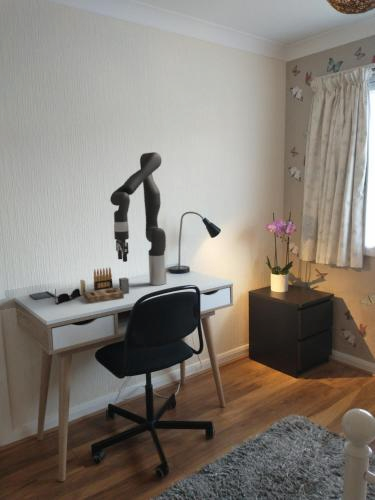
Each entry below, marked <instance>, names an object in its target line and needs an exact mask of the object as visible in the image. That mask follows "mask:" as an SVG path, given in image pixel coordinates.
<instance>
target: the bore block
mask: <svg viewBox="0 0 375 500" xmlns="http://www.w3.org/2000/svg"><path fill="white" fill-rule="evenodd" d="M83 295H84V296H83V299H84V300H85V301H86V302H87V304H95V303H101V302H109V301H114V300H122V299H125V297H124V296H125V294H124V293H123V292H122V291H121V290H120V288H118V287H113V288H109V289H102V290H96V291H95V290H89V291H86V292H83Z"/></svg>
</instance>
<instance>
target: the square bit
mask: <svg viewBox="0 0 375 500" xmlns="http://www.w3.org/2000/svg"><path fill="white" fill-rule="evenodd" d="M118 284H119V288H118V289H119V290H121V291H122V292H123V293H124V295H127V294H128V295H129V294H130V285H129V278H128V277H120V278H118Z"/></svg>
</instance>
